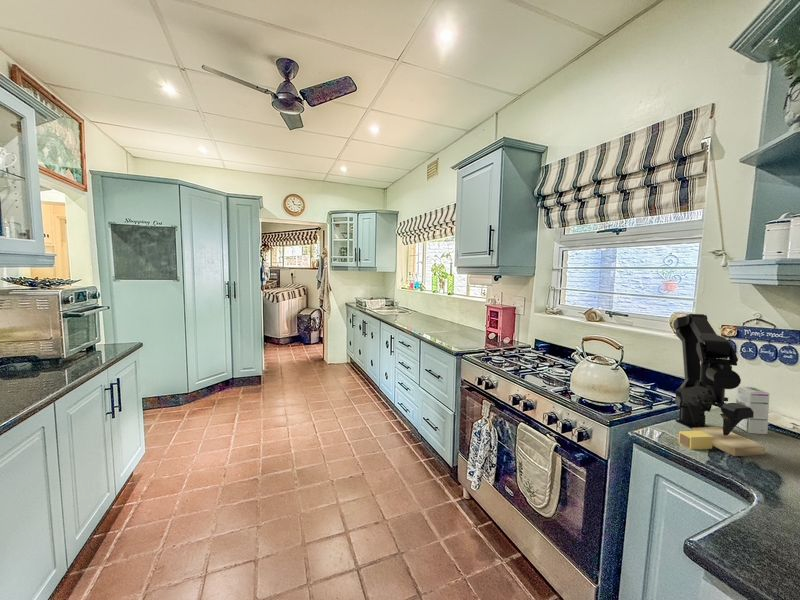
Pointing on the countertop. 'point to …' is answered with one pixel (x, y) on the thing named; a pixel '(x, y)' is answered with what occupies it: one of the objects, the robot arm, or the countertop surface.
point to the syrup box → (754, 409)
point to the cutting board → (732, 442)
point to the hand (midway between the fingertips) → (709, 428)
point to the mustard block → (695, 439)
